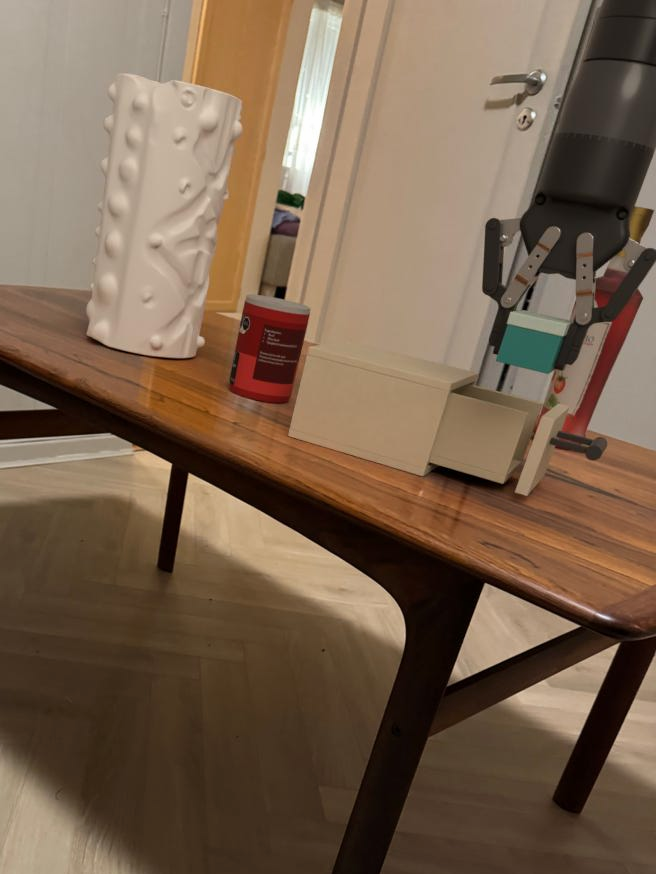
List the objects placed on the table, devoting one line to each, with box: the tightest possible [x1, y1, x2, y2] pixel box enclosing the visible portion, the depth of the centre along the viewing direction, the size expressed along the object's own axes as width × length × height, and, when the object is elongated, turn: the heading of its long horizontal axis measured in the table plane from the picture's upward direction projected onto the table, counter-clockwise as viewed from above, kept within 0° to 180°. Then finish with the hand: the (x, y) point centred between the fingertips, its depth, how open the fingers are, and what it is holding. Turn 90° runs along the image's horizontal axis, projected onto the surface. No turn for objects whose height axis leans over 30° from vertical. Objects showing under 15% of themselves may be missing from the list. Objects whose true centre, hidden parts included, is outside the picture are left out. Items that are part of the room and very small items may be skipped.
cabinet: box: [287, 340, 479, 477], centre depth 94 cm, size 15×13×9 cm
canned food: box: [228, 294, 312, 404], centre depth 109 cm, size 8×8×11 cm
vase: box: [85, 72, 243, 359], centre depth 120 cm, size 17×16×32 cm
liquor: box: [533, 205, 655, 451], centre depth 111 cm, size 7×7×28 cm
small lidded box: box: [495, 309, 574, 375], centre depth 77 cm, size 5×7×4 cm
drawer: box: [429, 384, 608, 497], centre depth 90 cm, size 18×11×7 cm, turn 61°
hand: (528, 360), depth 78 cm, fingers closed on small lidded box, 4 cm apart
